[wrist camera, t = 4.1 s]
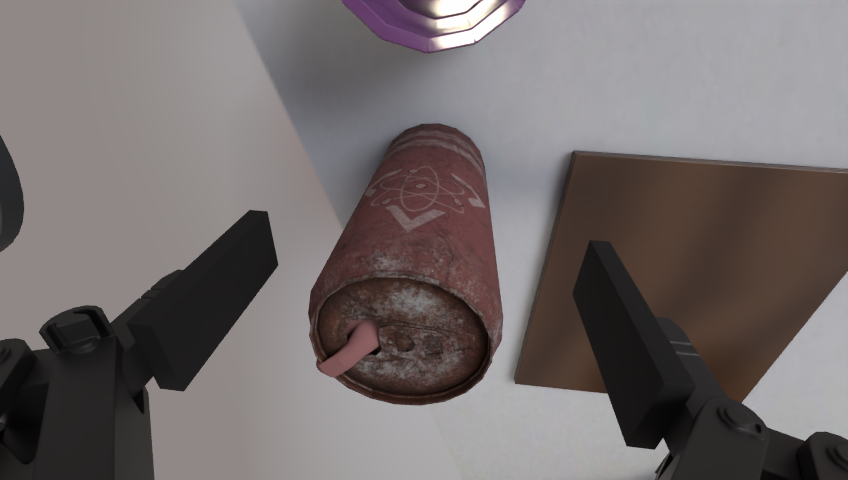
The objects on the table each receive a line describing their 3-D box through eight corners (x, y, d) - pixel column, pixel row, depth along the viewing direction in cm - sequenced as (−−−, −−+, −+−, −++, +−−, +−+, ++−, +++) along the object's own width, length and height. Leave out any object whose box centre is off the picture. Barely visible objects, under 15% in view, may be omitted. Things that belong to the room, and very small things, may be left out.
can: (360, 164, 23) (249, 333, 11) (443, 98, 20) (414, 225, 9) (422, 233, 25) (383, 436, 13) (503, 181, 23) (546, 374, 11)
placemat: (514, 378, 32) (514, 384, 31) (573, 150, 21) (576, 153, 21) (733, 400, 31) (738, 407, 30) (912, 173, 20) (924, 177, 20)
